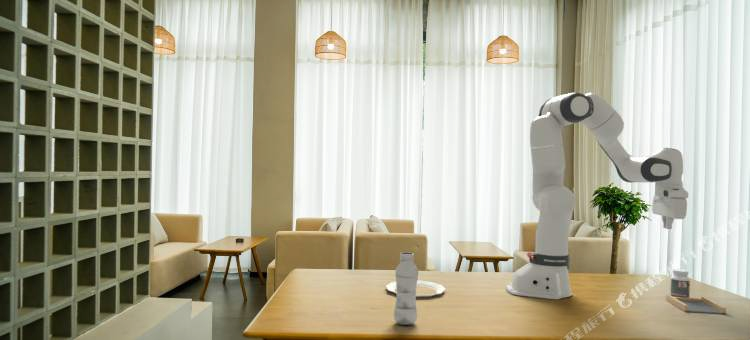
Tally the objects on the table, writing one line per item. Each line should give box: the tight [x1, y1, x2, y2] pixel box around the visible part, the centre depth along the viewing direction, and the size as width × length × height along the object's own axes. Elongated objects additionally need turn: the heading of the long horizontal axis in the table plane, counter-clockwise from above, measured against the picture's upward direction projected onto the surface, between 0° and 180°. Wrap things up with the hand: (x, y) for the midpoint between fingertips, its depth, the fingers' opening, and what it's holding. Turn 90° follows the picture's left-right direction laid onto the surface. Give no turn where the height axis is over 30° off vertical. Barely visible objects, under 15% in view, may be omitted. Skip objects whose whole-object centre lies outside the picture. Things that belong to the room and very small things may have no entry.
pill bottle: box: [669, 268, 691, 298], centre depth 167 cm, size 6×6×10 cm
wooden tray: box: [665, 294, 727, 315], centre depth 157 cm, size 12×14×2 cm
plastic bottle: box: [393, 251, 419, 326], centre depth 135 cm, size 6×7×20 cm
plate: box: [385, 279, 446, 298], centre depth 170 cm, size 21×21×2 cm
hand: (667, 228), depth 178 cm, fingers closed
